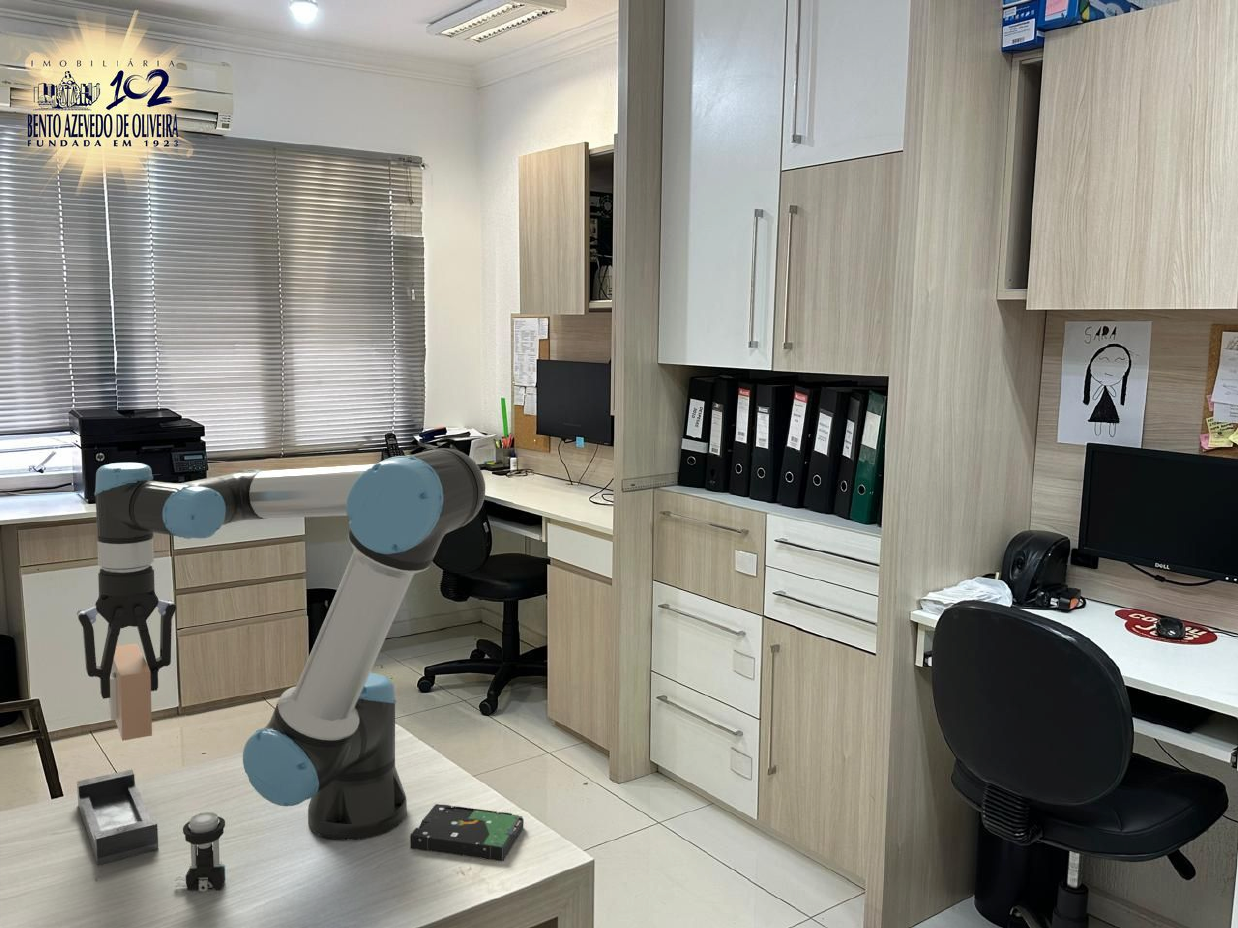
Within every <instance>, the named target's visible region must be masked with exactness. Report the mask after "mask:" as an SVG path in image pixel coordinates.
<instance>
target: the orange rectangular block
mask: <svg viewBox="0 0 1238 928" xmlns="http://www.w3.org/2000/svg"><path fill="white" fill-rule="evenodd" d="M111 673H114V675H115V678H116V700H117V720H114V721H115V723H116V727H117V730H118V733H119V737H120V739H121V741H122V742H123V741H128V740H135V739H140V738H145V737H151V736H153V722H152V720H153V718H152V717H153V716H152V714H153V713H152V691H151V673H150V669H149V667H148V665H147V661H146V658H145V656H144V655H143V653H142V650H141V648H140V647H139V644H138V642H135V643H127V644H119V645H116V650H115V655H114V660H113V665H112V670H111Z"/></svg>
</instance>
